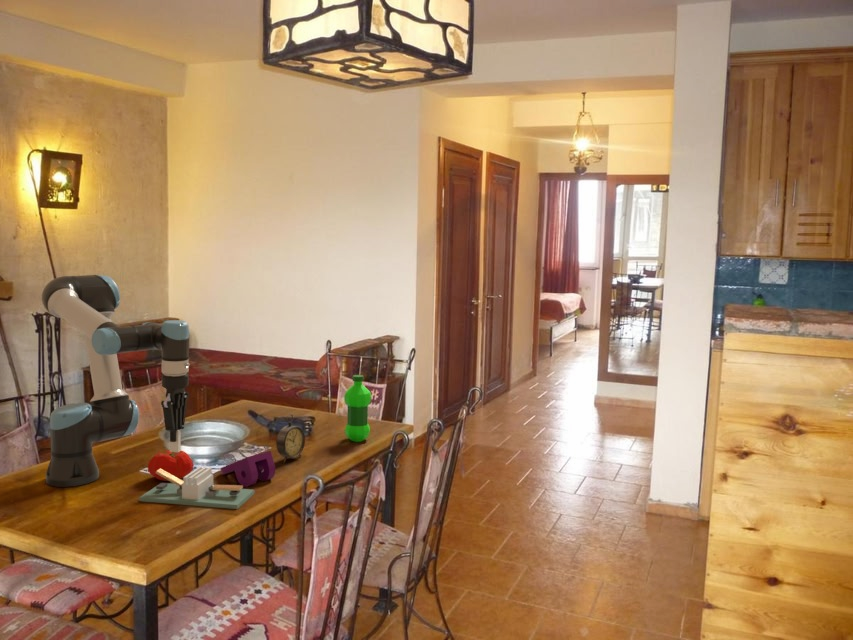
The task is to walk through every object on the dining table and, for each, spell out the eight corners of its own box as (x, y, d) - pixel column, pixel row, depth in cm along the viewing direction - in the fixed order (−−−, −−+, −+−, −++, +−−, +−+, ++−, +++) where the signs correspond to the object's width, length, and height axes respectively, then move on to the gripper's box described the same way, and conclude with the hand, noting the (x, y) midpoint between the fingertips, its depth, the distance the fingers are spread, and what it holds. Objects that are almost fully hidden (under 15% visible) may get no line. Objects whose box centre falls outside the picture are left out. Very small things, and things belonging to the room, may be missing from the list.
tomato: (195, 470, 243) (195, 444, 242) (192, 483, 231) (192, 456, 230) (151, 472, 240) (150, 446, 239) (146, 485, 228) (145, 458, 227)
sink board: (139, 501, 215) (138, 475, 214) (161, 486, 227) (161, 462, 226) (237, 509, 210) (237, 483, 209) (254, 493, 223) (254, 469, 222)
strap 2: (208, 490, 217) (208, 486, 216) (212, 487, 219) (212, 483, 219) (239, 491, 215) (239, 487, 215) (243, 488, 218) (242, 484, 218)
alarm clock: (285, 464, 251) (285, 418, 250) (273, 462, 254) (273, 416, 252) (305, 456, 261) (306, 412, 259) (294, 454, 264) (294, 409, 262)
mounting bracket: (222, 495, 237) (254, 483, 226) (214, 470, 239) (246, 457, 228) (245, 488, 245) (278, 476, 234) (238, 463, 246) (270, 450, 235)
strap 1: (154, 473, 219) (156, 470, 218) (159, 471, 221) (160, 467, 221) (182, 489, 218) (184, 485, 218) (186, 486, 220) (188, 482, 220)
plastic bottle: (365, 444, 278) (366, 379, 275) (339, 441, 281) (340, 377, 278) (374, 437, 287) (375, 374, 285) (349, 435, 290) (350, 372, 287)
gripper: (177, 378, 209) (176, 459, 212) (197, 370, 222) (196, 445, 225) (152, 377, 210) (152, 456, 213) (173, 368, 223) (173, 443, 226)
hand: (175, 451), depth 219 cm, fingers closed
